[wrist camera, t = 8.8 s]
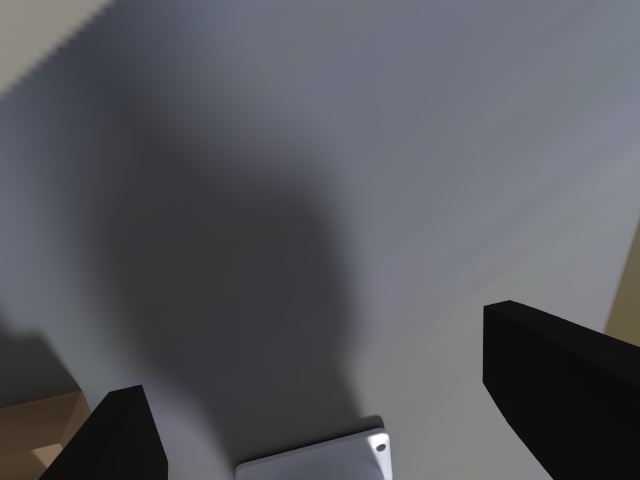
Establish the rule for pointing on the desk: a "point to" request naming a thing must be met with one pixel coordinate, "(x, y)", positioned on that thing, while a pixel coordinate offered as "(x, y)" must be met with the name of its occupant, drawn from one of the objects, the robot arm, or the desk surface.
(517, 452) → the desk surface
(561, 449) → the robot arm
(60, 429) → the brown square box
